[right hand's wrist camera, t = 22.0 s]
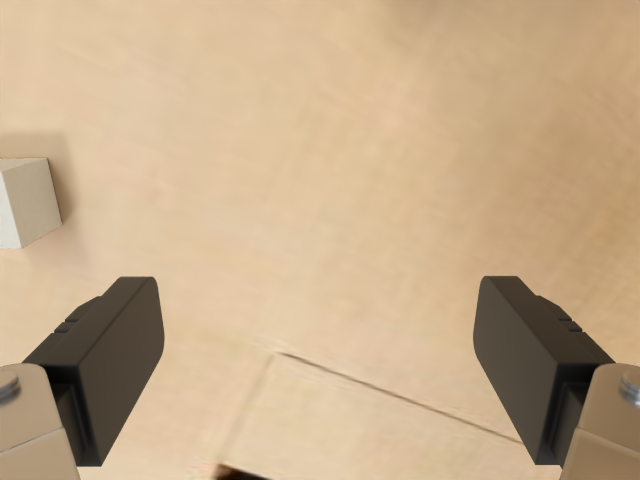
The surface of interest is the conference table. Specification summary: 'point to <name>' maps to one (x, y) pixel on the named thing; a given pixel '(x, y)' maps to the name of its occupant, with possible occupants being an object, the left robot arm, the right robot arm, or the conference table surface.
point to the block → (26, 202)
